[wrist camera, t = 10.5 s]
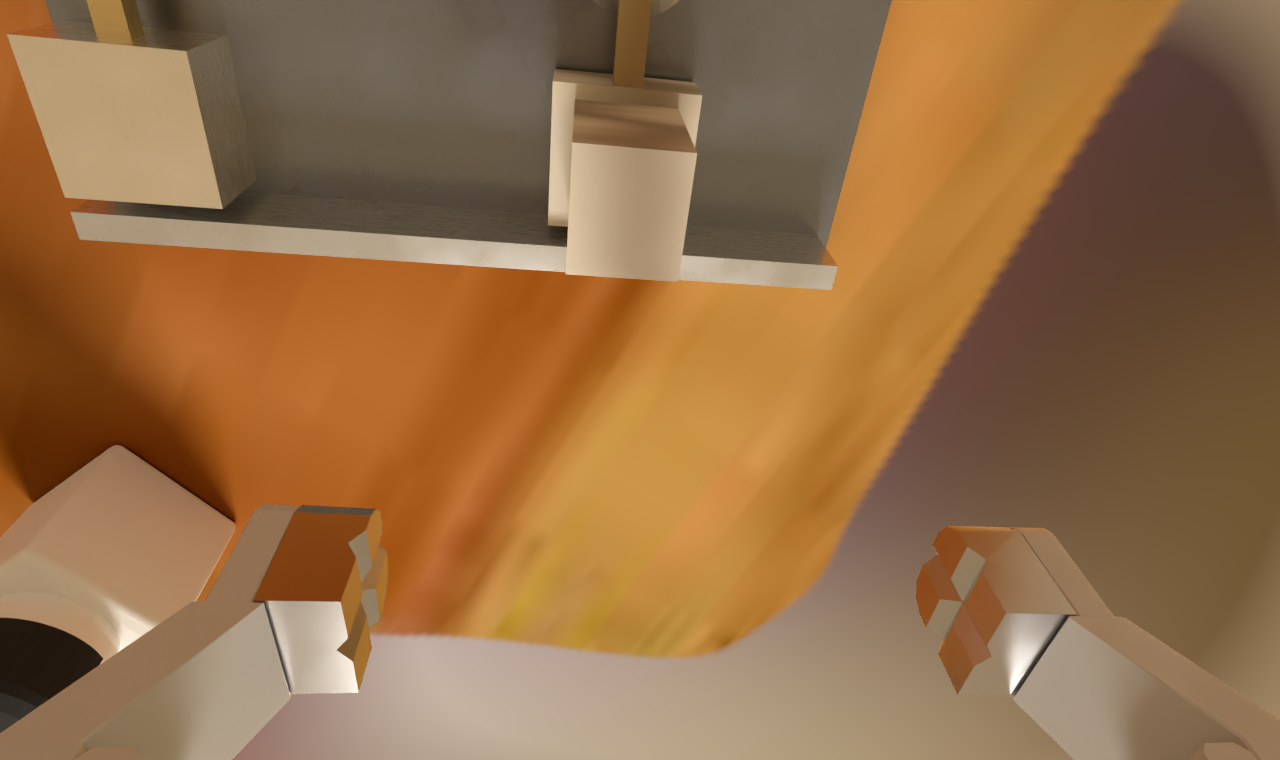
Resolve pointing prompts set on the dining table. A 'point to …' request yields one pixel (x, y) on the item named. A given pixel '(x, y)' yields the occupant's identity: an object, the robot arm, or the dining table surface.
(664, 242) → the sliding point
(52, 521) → the medicine bottle
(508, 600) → the dining table surface
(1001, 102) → the dining table surface
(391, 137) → the divider plate
